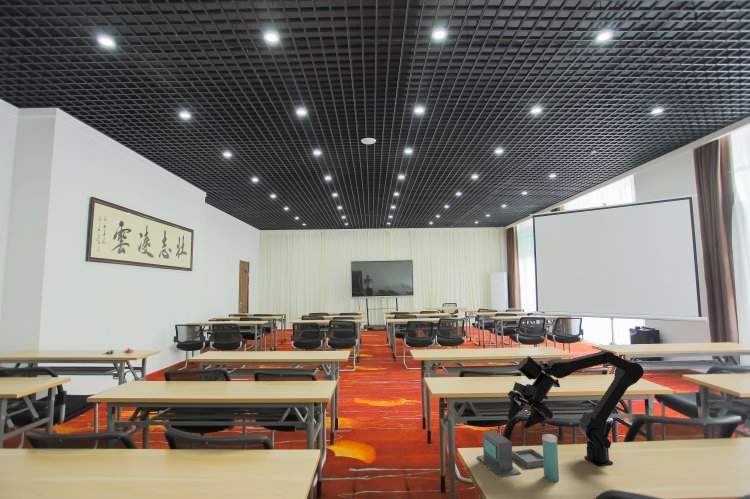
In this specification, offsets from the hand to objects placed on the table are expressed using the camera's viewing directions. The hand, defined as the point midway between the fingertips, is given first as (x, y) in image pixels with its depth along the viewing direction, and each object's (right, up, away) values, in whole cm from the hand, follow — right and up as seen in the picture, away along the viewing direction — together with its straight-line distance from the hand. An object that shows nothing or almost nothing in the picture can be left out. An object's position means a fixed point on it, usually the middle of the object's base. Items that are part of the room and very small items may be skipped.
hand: (516, 423), depth 132 cm
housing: (-8, -13, -4) cm, 16 cm away
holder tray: (+5, -13, -1) cm, 14 cm away
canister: (+7, -12, -13) cm, 19 cm away
